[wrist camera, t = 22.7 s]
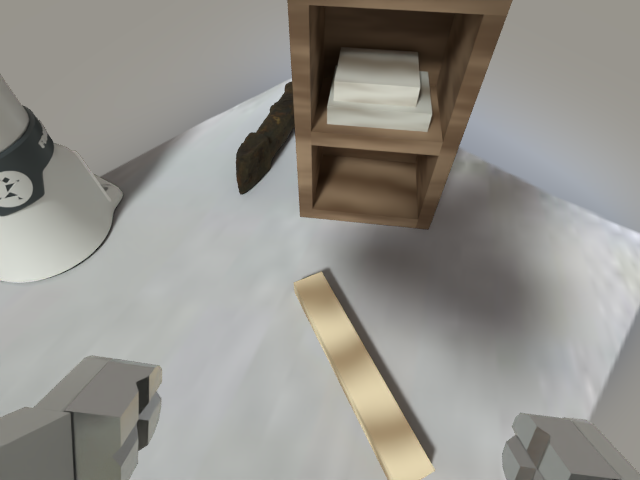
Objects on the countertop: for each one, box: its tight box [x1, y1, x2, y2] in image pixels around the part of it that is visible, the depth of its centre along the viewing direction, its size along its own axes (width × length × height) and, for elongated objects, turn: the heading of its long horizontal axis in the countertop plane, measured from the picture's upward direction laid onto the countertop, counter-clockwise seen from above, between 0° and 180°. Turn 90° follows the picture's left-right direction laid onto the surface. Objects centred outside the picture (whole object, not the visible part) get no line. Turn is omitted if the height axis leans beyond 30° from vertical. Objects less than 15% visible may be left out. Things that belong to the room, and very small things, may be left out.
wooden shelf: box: [288, 0, 512, 229], centre depth 40 cm, size 12×16×26 cm
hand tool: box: [236, 82, 295, 194], centre depth 54 cm, size 23×5×6 cm, turn 159°
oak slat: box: [294, 272, 435, 480], centre depth 34 cm, size 20×3×2 cm, turn 26°
